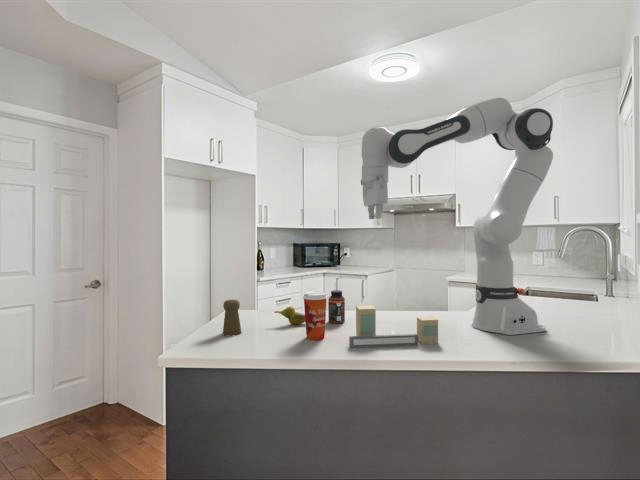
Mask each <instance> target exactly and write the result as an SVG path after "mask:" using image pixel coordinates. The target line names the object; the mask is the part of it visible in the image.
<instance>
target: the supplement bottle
mask: <svg viewBox="0 0 640 480" xmlns="http://www.w3.org/2000/svg"><path fill="white" fill-rule="evenodd" d="M330 295H331V296H329V297H328V303H327V304H328V308H327V309H328V322H329V323H331V324H343V323H344V322H345V321H346V320H345V319H346V309H345V305H346V303H345V301H346V298H345V297H344V296H343V291H342V290H337V289H336V290H335V289H334V290H331V292H330Z"/></svg>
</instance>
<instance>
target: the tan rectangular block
mask: <svg viewBox="0 0 640 480" xmlns="http://www.w3.org/2000/svg"><path fill="white" fill-rule="evenodd" d="M376 313H377V312H376V307H374V305H372V304H370V305H368V304H367V305H355V336H370V335H376V333H377V331H376V330H377V329H376V328H377V327H376V325H377V324H376V315H377V314H376Z"/></svg>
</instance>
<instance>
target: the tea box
mask: <svg viewBox="0 0 640 480" xmlns="http://www.w3.org/2000/svg"><path fill="white" fill-rule="evenodd" d="M416 334H417V335H418V343H420V344H421V343H422V344H421V345H430V344H431V343H435V344H439V319H437V318H436V317H434V316H417V317H416ZM427 343H429V344H427Z"/></svg>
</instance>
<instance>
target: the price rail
mask: <svg viewBox="0 0 640 480" xmlns="http://www.w3.org/2000/svg"><path fill="white" fill-rule="evenodd" d="M348 338H349V339H348V341H349V348H350V349H353V348H354V349H355V348H357V349H358V348H378V347H379V346H380V347H381V346H385V347H406V346H405V345H411V346H418V345H419V341H418V335H417V333H403V334H402V333H401V334H378V335H370V336H356V335H352V336H351V335H350V336H349V337H348ZM380 347H379V348H380Z"/></svg>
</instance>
